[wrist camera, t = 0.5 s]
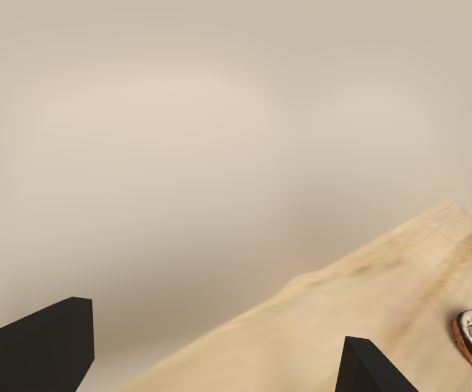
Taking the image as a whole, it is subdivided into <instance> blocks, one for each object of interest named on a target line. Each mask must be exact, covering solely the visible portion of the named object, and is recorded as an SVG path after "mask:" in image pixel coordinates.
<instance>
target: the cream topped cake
mask: <svg viewBox="0 0 472 392" xmlns="http://www.w3.org/2000/svg"><path fill="white" fill-rule="evenodd" d="M450 326H451V327H452V328H453V331H454V334H455V338H456V340H457V341H456V343H457V344H458V345H459V347H460V349H461V350H462V351H463V352H464V354H465V356H466V357H467V359H468V360H469V361H470V362H471V364H472V310H466V311H465V312H462V313H460V314H459V315H458V316H457V317H456V318H455V320H452V321H451V324H450Z"/></svg>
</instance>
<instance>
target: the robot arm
mask: <svg viewBox="0 0 472 392" xmlns="http://www.w3.org/2000/svg"><path fill="white" fill-rule="evenodd" d="M92 311H93V310H92V299H85V298H78V297H70V298H68V299H65V300H62V301H60V302H58V303H55V304H53V305H51V306H48V307H46V308H44V309H42V310H40V311H37V312H35V313H33V314H31V315H28V316H26V317H24V318H22V319H20V320H17V321H15V322H13V323H11V324H9V325H6V326H4V327H2V328H0V392H76V390H77V388H78V387H79V385H80V383H81V381H82V380H83V378H84V377H85V375H86V373H87V371H88V369H89V368H90V366H91V364H92V362H93V361H94V358H95V357H94V333H93V312H92ZM335 392H419V391H418V390H417V389H416V388H415V387H414V386H413V385H412V384H411V383H410V382H409V381H408V380H407V379H406V378H405V377H404V376H403V374H402V373H401V372H400V371H399V370H398V369H397V368H396V367H395V366H394V365H393V364H392V363H391V362H390V361H389V359H388V358H387V357H386V356H385V355H384V354H383V353H382V352H381V351H380V350H379V349H378V348H377V347H376V346H375V345H374V344H373V343H372V342H371V341H370V340H369V339H363V338H356V337H350V336H346V337H345V342H344V347H343V352H342V357H341V363H340V368H339V373H338V378H337V383H336V388H335Z"/></svg>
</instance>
